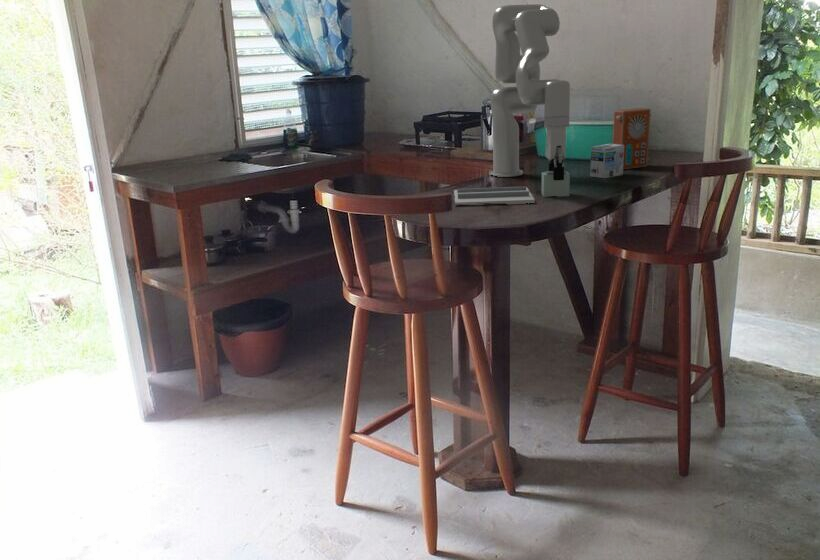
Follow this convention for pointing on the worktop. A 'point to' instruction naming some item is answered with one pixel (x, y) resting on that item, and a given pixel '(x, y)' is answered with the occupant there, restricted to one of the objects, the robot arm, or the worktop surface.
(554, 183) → the block
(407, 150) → the worktop surface
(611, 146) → the light bulb box
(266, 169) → the worktop surface
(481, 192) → the rail plate
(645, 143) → the control panel
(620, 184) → the worktop surface
